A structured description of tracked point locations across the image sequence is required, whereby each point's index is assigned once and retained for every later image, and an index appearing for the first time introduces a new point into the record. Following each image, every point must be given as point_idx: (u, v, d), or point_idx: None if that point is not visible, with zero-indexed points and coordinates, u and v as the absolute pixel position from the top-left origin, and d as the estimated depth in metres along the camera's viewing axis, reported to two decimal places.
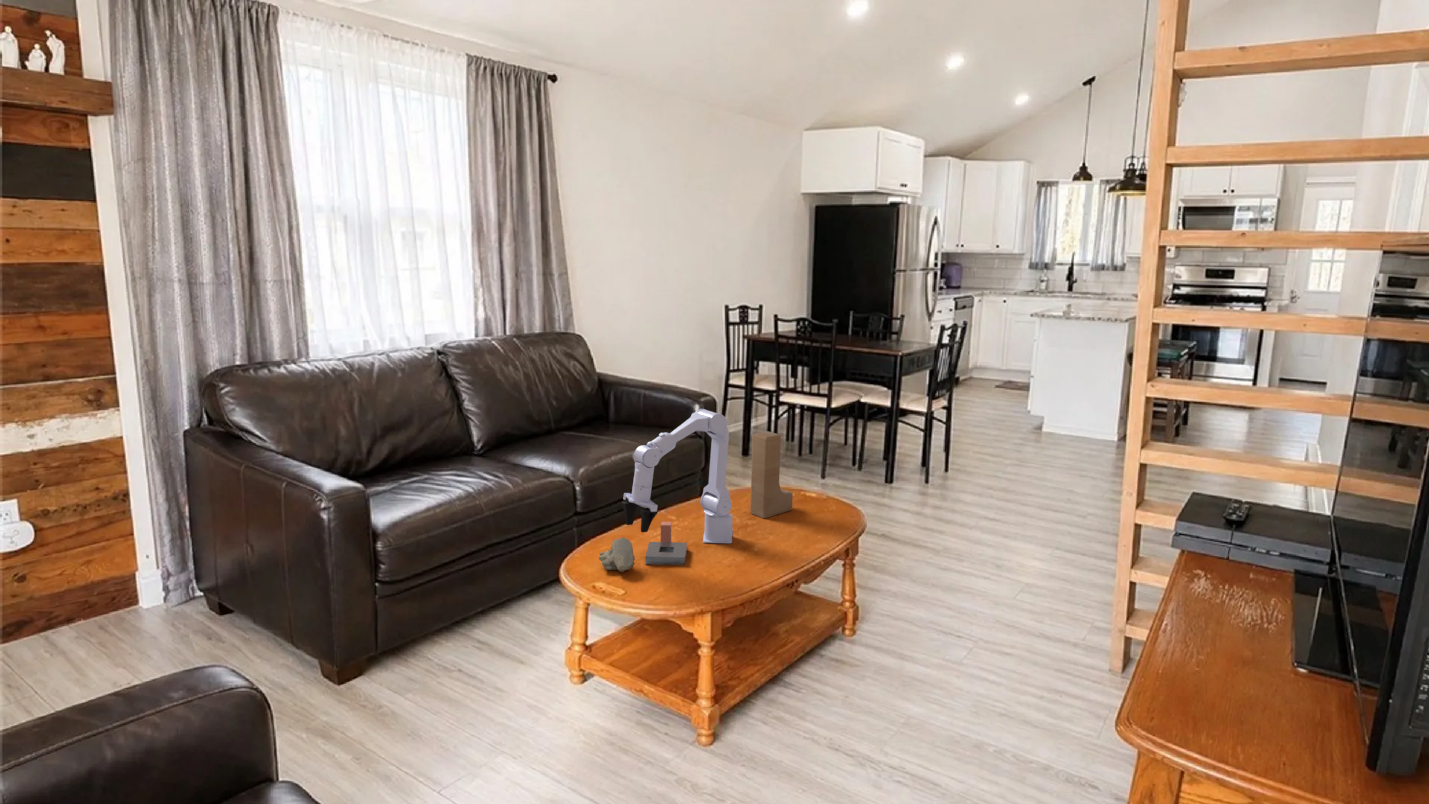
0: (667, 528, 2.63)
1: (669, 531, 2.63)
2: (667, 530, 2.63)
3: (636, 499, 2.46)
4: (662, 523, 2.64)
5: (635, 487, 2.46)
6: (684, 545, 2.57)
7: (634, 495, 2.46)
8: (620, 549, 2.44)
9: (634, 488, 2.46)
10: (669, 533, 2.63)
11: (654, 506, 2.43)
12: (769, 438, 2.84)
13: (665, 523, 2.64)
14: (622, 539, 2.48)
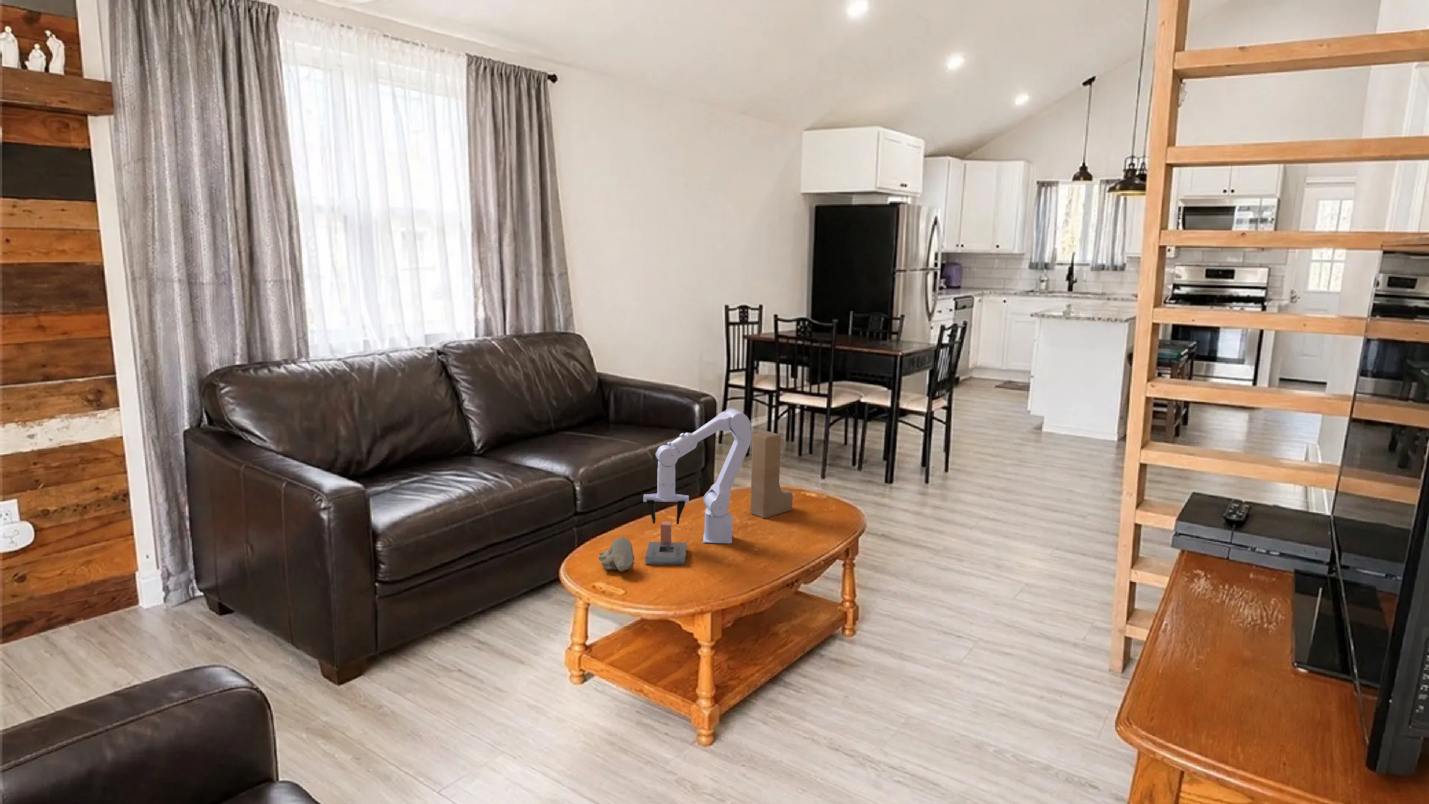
0: (667, 528, 2.63)
1: (669, 531, 2.63)
2: (667, 530, 2.63)
3: (669, 497, 2.59)
4: (662, 523, 2.64)
5: (666, 486, 2.58)
6: (684, 545, 2.57)
7: (666, 494, 2.59)
8: (620, 549, 2.44)
9: (665, 488, 2.58)
10: (669, 533, 2.63)
11: (688, 497, 2.62)
12: (769, 438, 2.84)
13: (665, 523, 2.64)
14: (622, 539, 2.48)
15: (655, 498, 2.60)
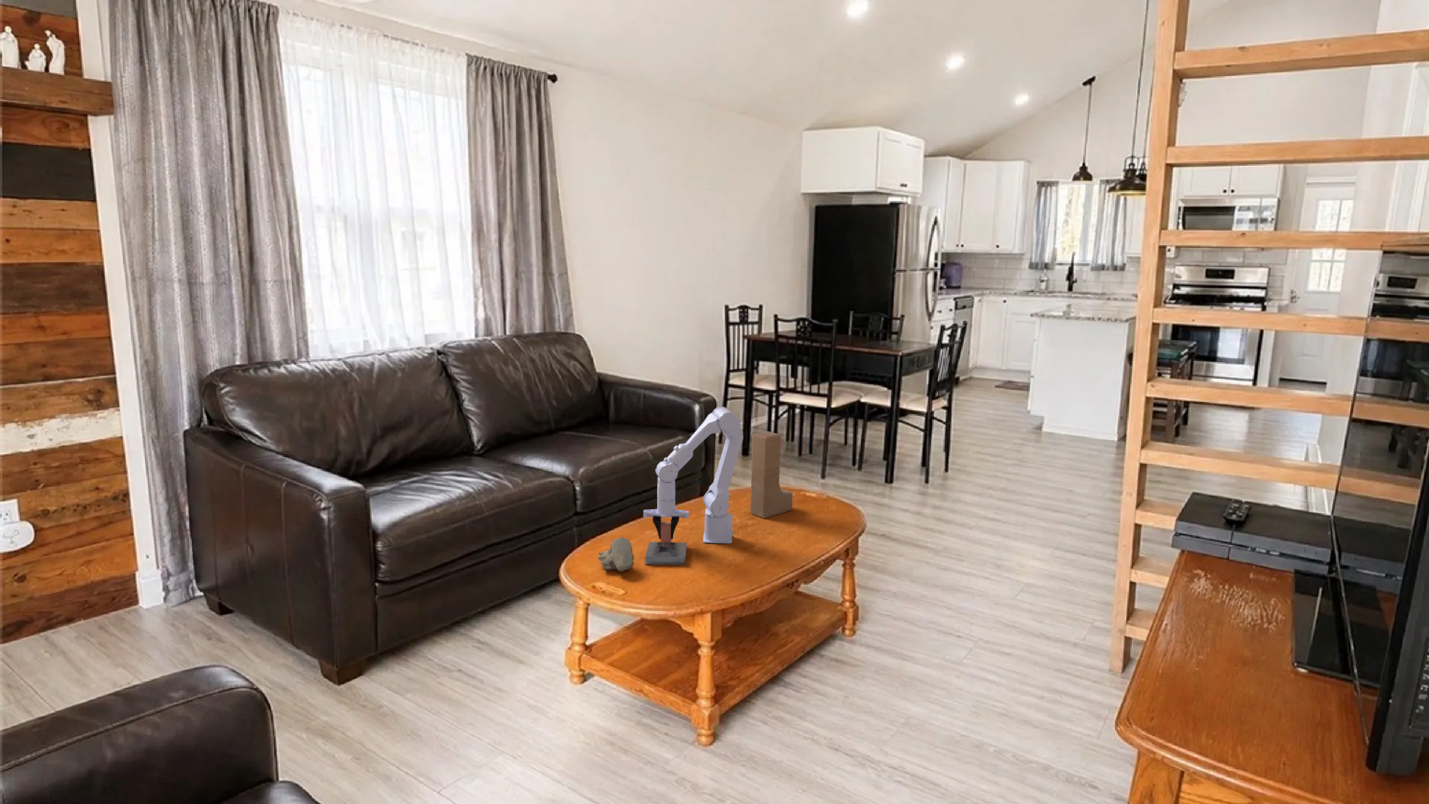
0: (667, 528, 2.63)
1: (669, 531, 2.63)
2: (667, 529, 2.63)
3: (669, 513, 2.60)
4: (662, 523, 2.64)
5: (666, 502, 2.59)
6: (684, 545, 2.57)
7: (666, 510, 2.60)
8: (620, 549, 2.44)
9: (665, 504, 2.60)
10: (669, 533, 2.63)
11: (688, 513, 2.63)
12: (769, 438, 2.84)
13: (665, 523, 2.64)
14: (621, 539, 2.48)
15: (655, 514, 2.61)
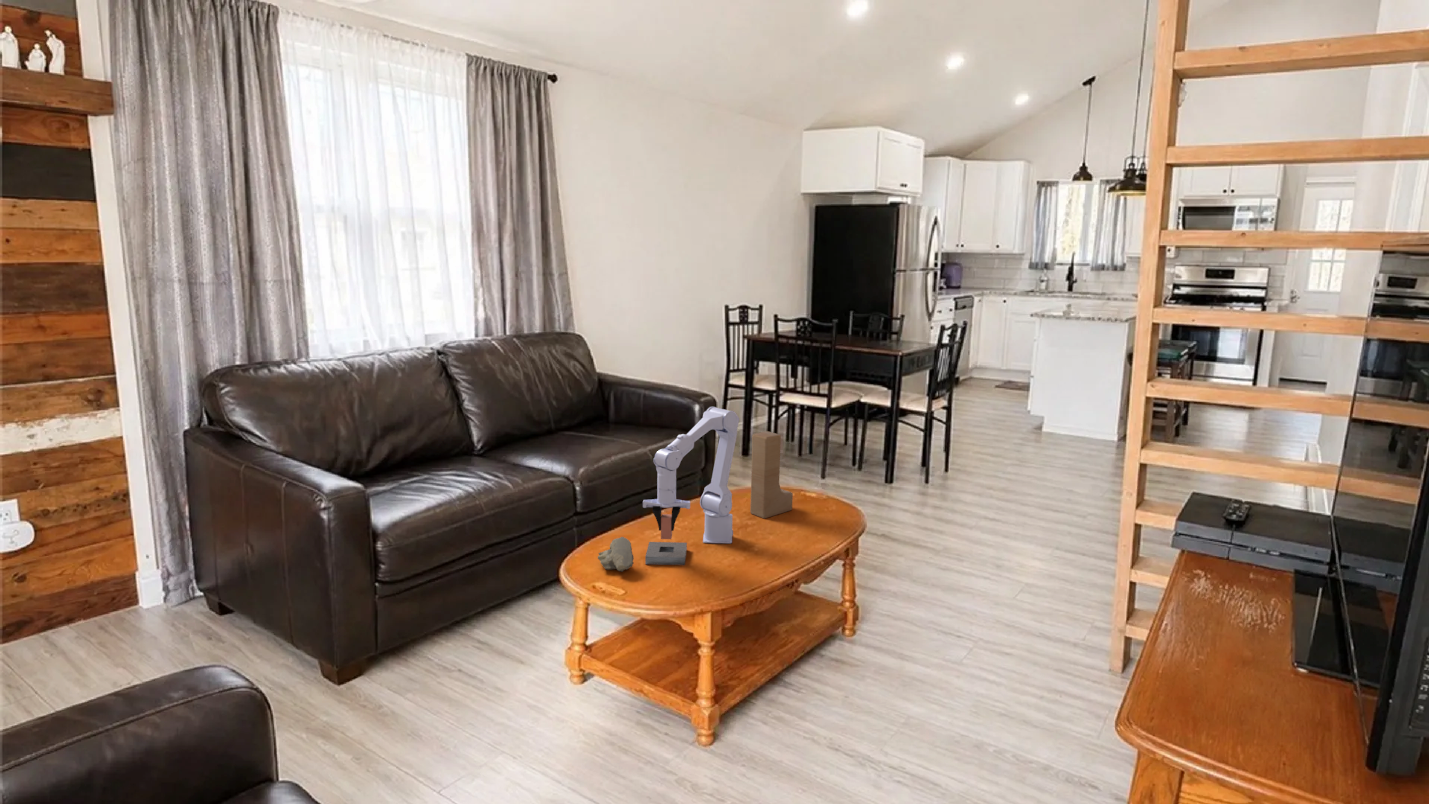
0: (667, 520, 2.51)
1: (670, 524, 2.51)
2: (667, 522, 2.51)
3: (669, 503, 2.49)
4: (663, 516, 2.52)
5: (667, 492, 2.48)
6: (684, 545, 2.57)
7: (667, 499, 2.48)
8: (619, 549, 2.44)
9: (665, 493, 2.48)
10: (670, 526, 2.51)
11: (689, 503, 2.51)
12: (769, 438, 2.84)
13: (665, 515, 2.53)
14: (621, 539, 2.48)
15: (655, 504, 2.49)
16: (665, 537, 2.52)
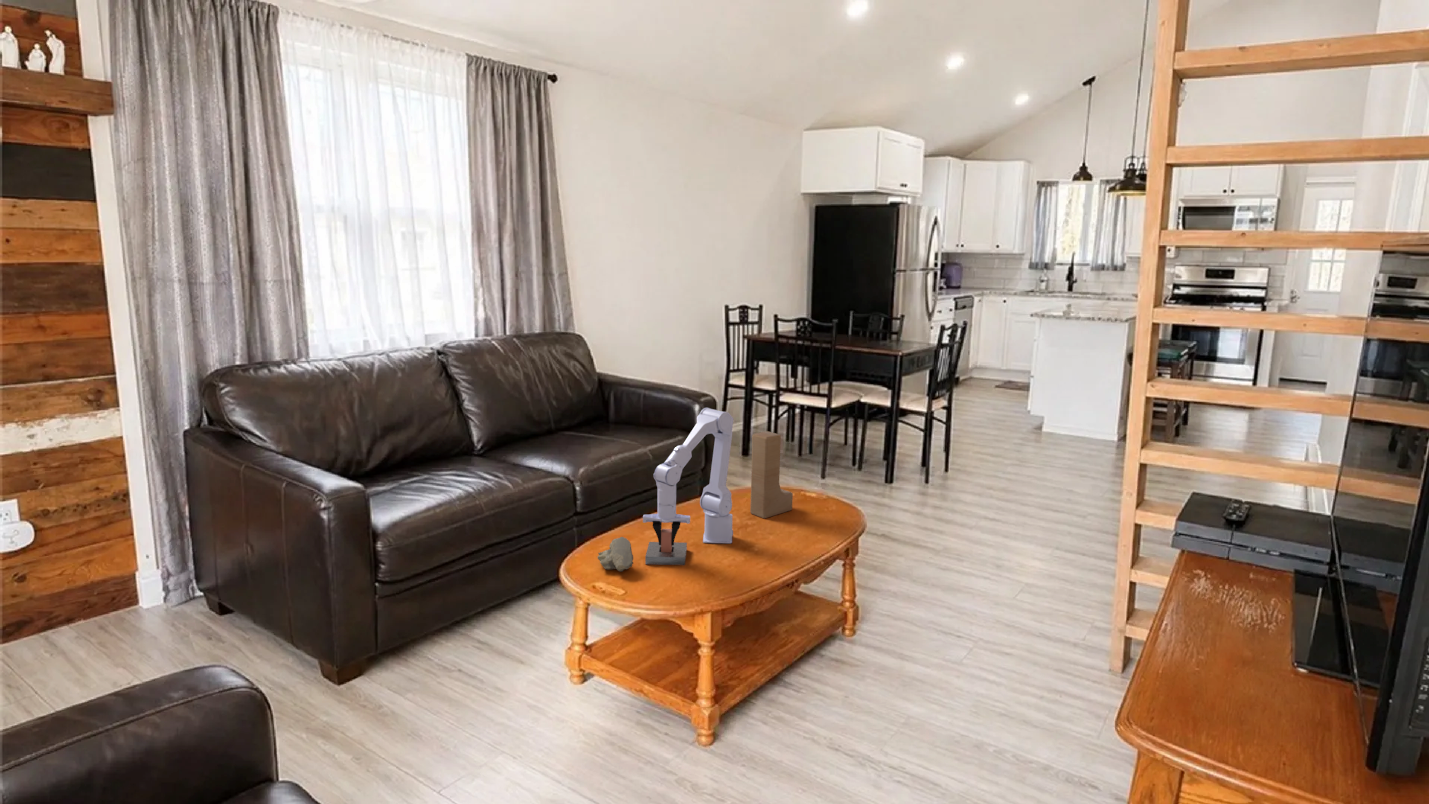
0: (667, 535, 2.52)
1: (670, 539, 2.52)
2: (667, 537, 2.52)
3: (670, 517, 2.49)
4: (663, 530, 2.53)
5: (667, 507, 2.48)
6: (684, 545, 2.57)
7: (667, 514, 2.49)
8: (619, 549, 2.44)
9: (665, 508, 2.48)
10: (670, 541, 2.52)
11: (689, 517, 2.51)
12: (769, 438, 2.84)
13: (665, 530, 2.53)
14: (621, 539, 2.48)
15: (655, 519, 2.50)
16: None
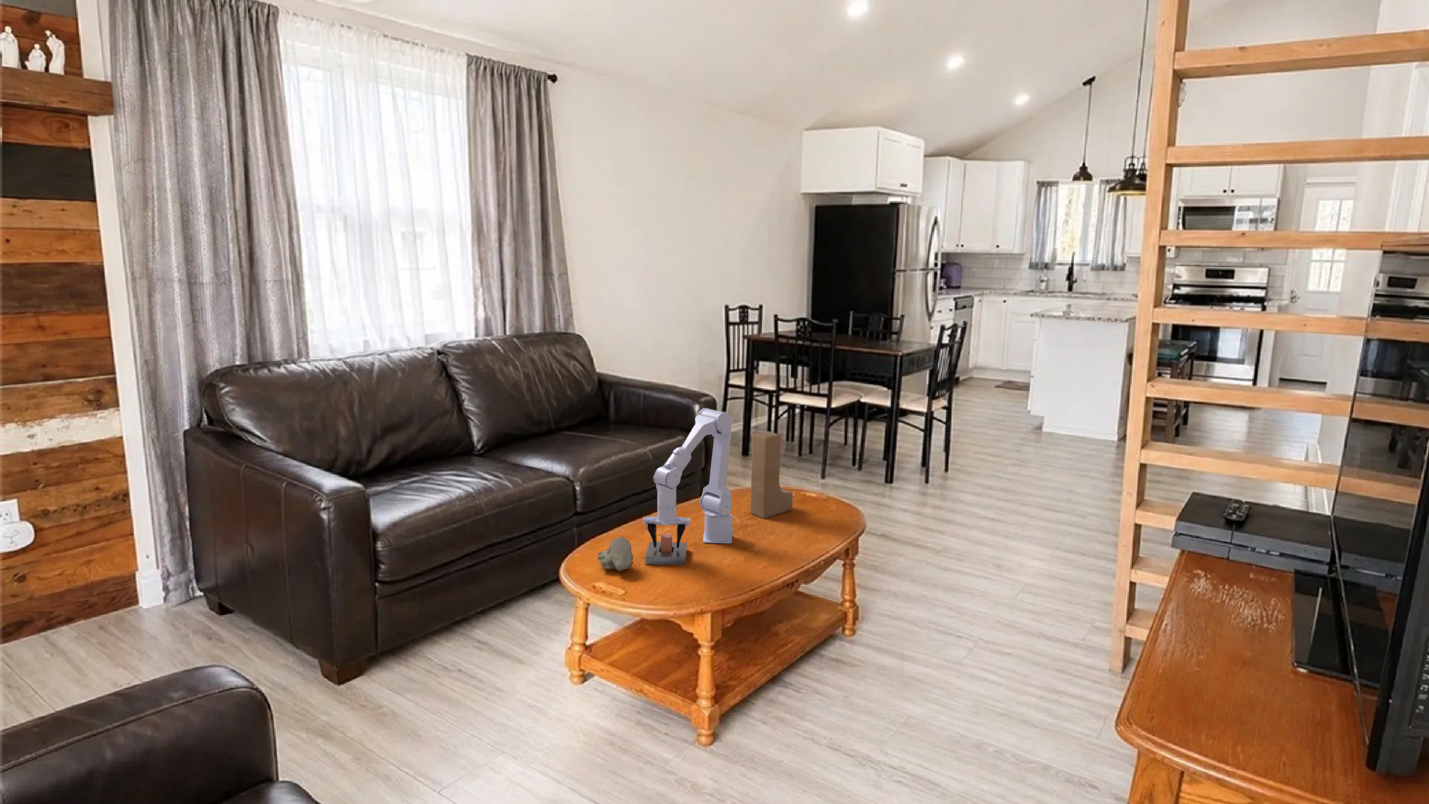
0: (667, 540, 2.52)
1: (670, 544, 2.52)
2: (667, 542, 2.52)
3: (670, 520, 2.49)
4: (663, 535, 2.53)
5: (667, 509, 2.48)
6: (684, 545, 2.57)
7: (667, 517, 2.49)
8: (619, 549, 2.44)
9: (665, 511, 2.48)
10: (670, 546, 2.52)
11: (689, 520, 2.52)
12: (769, 438, 2.84)
13: (665, 535, 2.54)
14: (620, 538, 2.48)
15: (655, 521, 2.50)
16: None
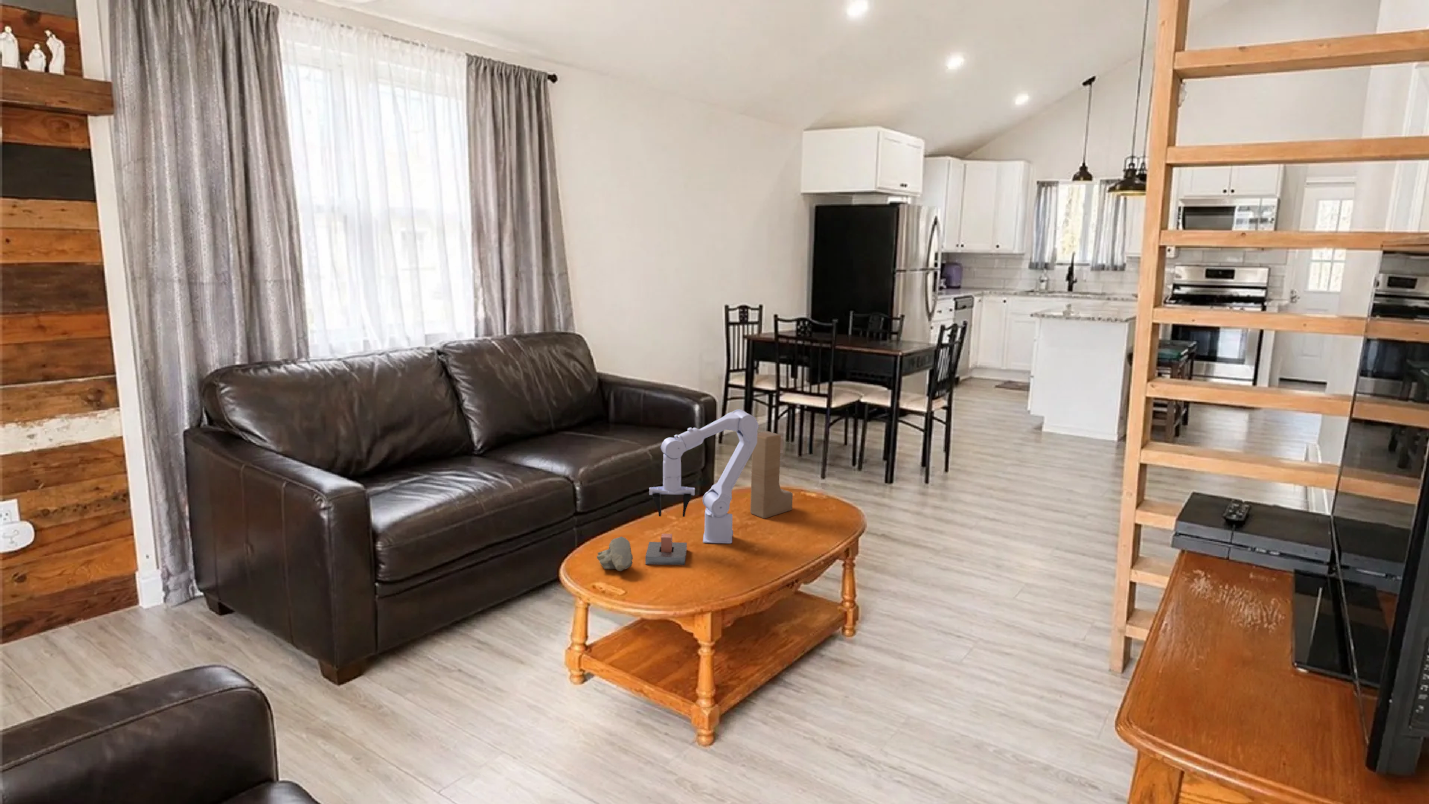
0: (667, 540, 2.52)
1: (670, 544, 2.52)
2: (667, 542, 2.52)
3: (675, 489, 2.58)
4: (663, 535, 2.53)
5: (672, 479, 2.57)
6: (684, 545, 2.57)
7: (672, 486, 2.58)
8: (619, 549, 2.44)
9: (671, 480, 2.58)
10: (670, 546, 2.52)
11: (694, 489, 2.61)
12: (769, 438, 2.84)
13: (665, 535, 2.54)
14: (620, 538, 2.48)
15: (661, 491, 2.59)
16: None
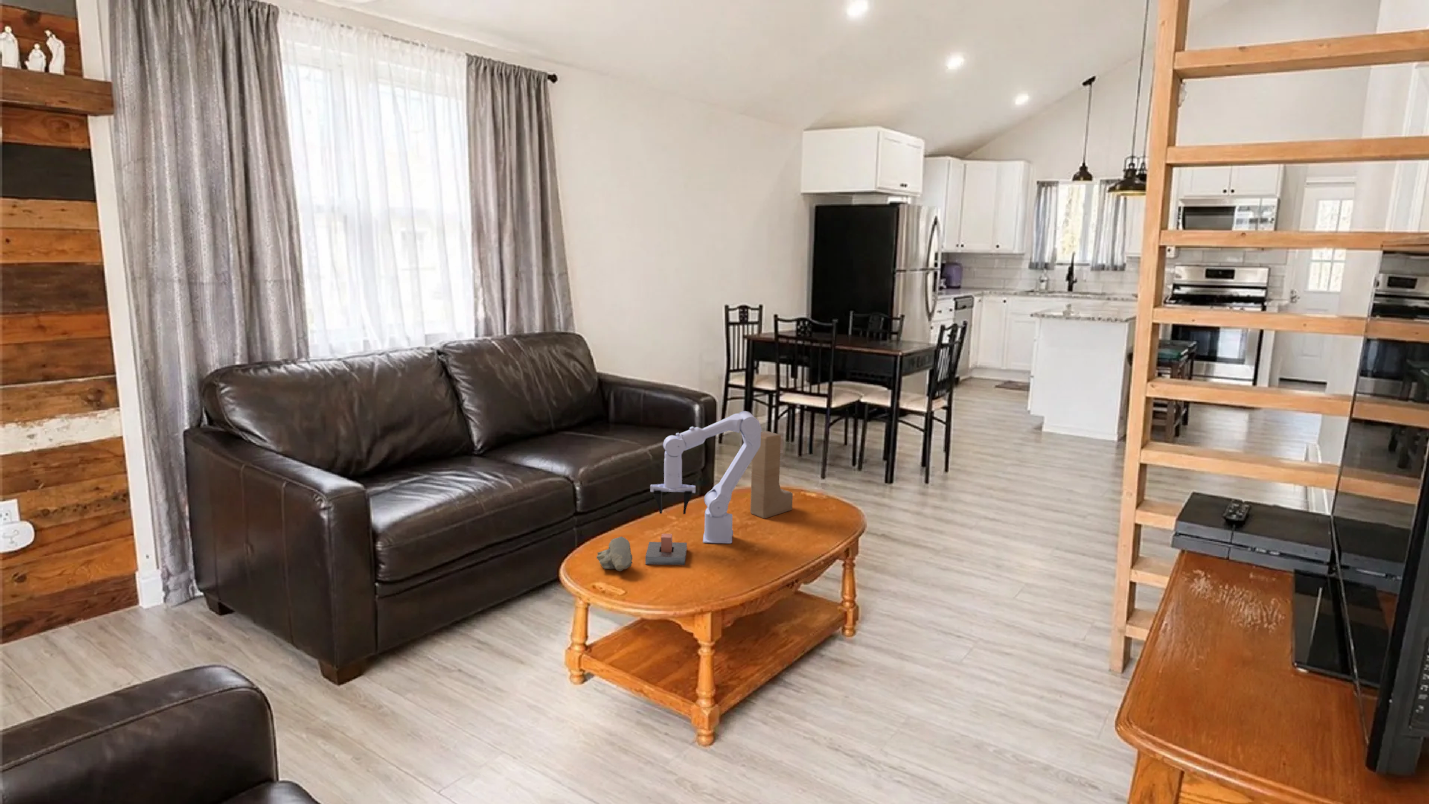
0: (667, 540, 2.52)
1: (670, 544, 2.52)
2: (667, 542, 2.52)
3: (676, 487, 2.61)
4: (663, 535, 2.53)
5: (673, 477, 2.60)
6: (684, 545, 2.57)
7: (673, 484, 2.60)
8: (618, 549, 2.44)
9: (672, 478, 2.60)
10: (670, 546, 2.52)
11: None
12: (769, 438, 2.84)
13: (665, 535, 2.54)
14: (620, 538, 2.48)
15: (662, 488, 2.61)
16: None
